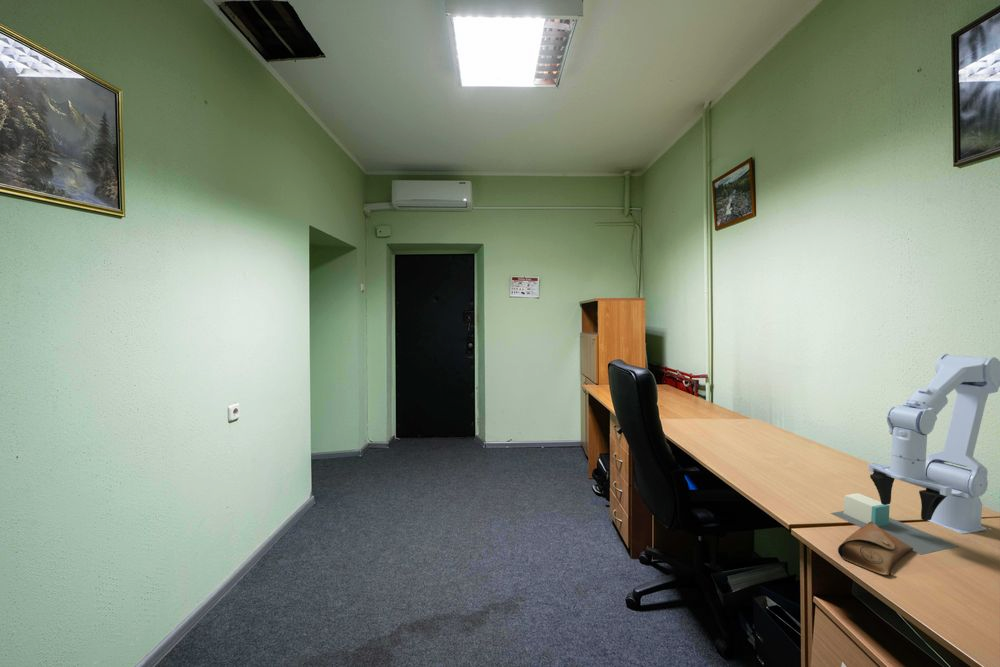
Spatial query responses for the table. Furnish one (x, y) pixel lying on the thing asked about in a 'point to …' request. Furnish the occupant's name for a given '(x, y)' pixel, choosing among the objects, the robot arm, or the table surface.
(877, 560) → the sunglasses case
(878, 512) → the cream block
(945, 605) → the table surface
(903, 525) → the rubber mat
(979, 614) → the table surface
